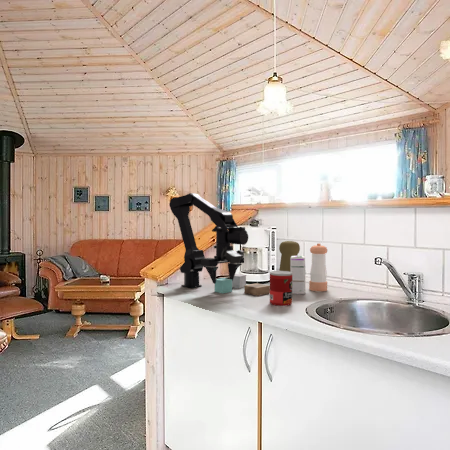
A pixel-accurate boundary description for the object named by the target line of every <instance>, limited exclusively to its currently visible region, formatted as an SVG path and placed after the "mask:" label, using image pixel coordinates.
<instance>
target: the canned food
mask: <svg viewBox="0 0 450 450" xmlns="http://www.w3.org/2000/svg"><path fill="white" fill-rule="evenodd" d="M269 286H270V293H269V303H270V305H272V306H278V307H279V306H280V307H288V306H291V305H292V303H293V294H292V272H289V271H279V270H271V271H270V272H269Z"/></svg>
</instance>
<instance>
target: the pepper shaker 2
mask: <svg viewBox="0 0 450 450" xmlns="http://www.w3.org/2000/svg"><path fill="white" fill-rule="evenodd" d="M309 251H310V253H311V266H310V272H309V277H310V278H309V283H308V284H309V285H308V290H309V291H313V292H327V291H328V281H327V275H328V273H327V265H326V254H327V253H328V248H327V247H326V246H325V245H321V243H320V242H319V243H317V244H316V245H312V246H310V249H309Z"/></svg>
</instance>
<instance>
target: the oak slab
mask: <svg viewBox="0 0 450 450" xmlns="http://www.w3.org/2000/svg"><path fill="white" fill-rule="evenodd" d="M243 288H244V289H243V290H244V294H247V295H253V296H256V297H257V296H258V297H259V296H262V295H268V294H270V284H269V285H267V284H263V283H257V282H256V283H251V284H246V285H244V287H243Z"/></svg>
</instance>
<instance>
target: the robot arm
mask: <svg viewBox="0 0 450 450" xmlns="http://www.w3.org/2000/svg"><path fill="white" fill-rule="evenodd" d="M192 206H195V207H196V208H197V209H199V210H200V211H202V212H203V213H204V214H206V215H207V216H208V217H209V218H210V221H211V222H212V223H213V224H214V225H215V227H214V228H212V230H211V232H215V235H216V236H215V238H216V239H215V240H216V241H215V245H213V248H214V249H215V252H216V253H215V255H214V256H213V257H205V254H204V250H203V249H199V248H198V246H197V242H196V239H195V235H194V232H193V228H192V224H191V220H190V217H189V214H190V210H191V209H190V208H191V207H192ZM169 208H170V211H171V213H172V215H173V216H175V218H176V219H177V223H178V227H179V230H180V233H181V234H180V235H181V238H182V242H183V245H184V250H185V251H184V256H183V260H184V262H183V264H182V265H181V266H180V267H179V270H180V273H181V274H183V276H184V277H183V283H184V284H181V285H180V287H184V288H188V289H194V288H199V287H202V284H200V272H203V269H204V268H205V270H206V271H207V273H208V275H209V277H210V279H211V282H212V284H214V285H215V283H216V279H217V271H218V269H219V266H218V265H219V264H225V263H226V264H227V268H228V276H229V279H232V281H233V278H234V276H235V274H237V273H236V272H237V271H238V268H239V267H240V266H242V265H243V264H245V258H244V254H245V253H244V250H242V249H238V250H234V246H233V245H243V246H245V245H246V244H247V243H248V241H249V234H248V231H247V230H246V227H245V226H238V224H237V222H236V221H235V219H234V217H233V213H231V212H230V211H227V210H225V209H221V208H218V207H216V206H215V205H213V204H212V203H211V202H209V201H207V200H206V199H204V198H203V197H201V196H200V195H199V193H194V192H193V193H192V192H190V193H188V194H185V195H182V196H178V197H177V196H176V197H175V196H174V197H172V198H171V199H170V201H169Z"/></svg>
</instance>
